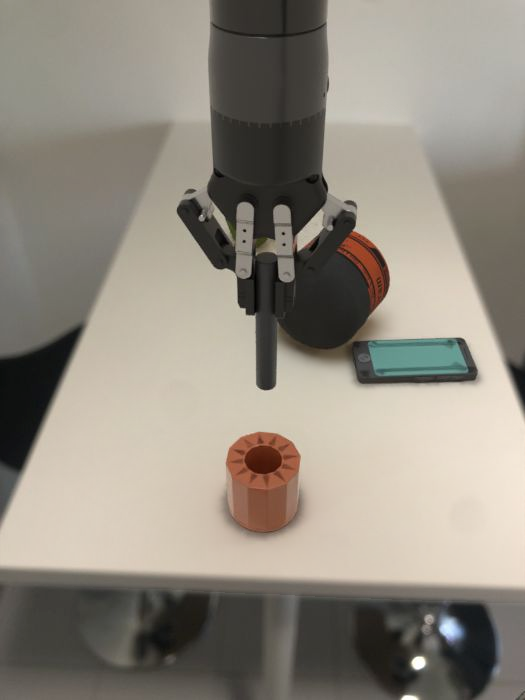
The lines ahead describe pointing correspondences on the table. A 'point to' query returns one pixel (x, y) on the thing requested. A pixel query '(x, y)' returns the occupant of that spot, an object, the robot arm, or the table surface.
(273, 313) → the stylus
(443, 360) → the smartphone
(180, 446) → the table surface
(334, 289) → the oil filter
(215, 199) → the robot arm
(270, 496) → the pen pot
